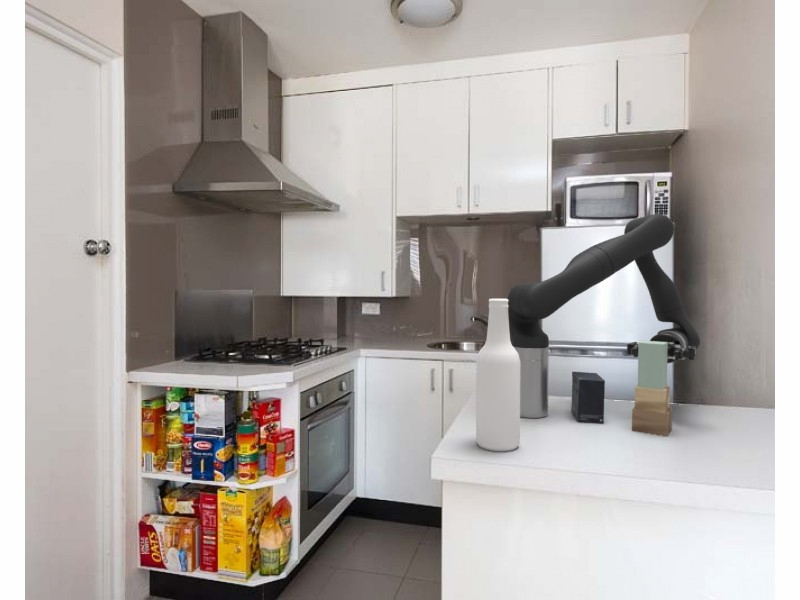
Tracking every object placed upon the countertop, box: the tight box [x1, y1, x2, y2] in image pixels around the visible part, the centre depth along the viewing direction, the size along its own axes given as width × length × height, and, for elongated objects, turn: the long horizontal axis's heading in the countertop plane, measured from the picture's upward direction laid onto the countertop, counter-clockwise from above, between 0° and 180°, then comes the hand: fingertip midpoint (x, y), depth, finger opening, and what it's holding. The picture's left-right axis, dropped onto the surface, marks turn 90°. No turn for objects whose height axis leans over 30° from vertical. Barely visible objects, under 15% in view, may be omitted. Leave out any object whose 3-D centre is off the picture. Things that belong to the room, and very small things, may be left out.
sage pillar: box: [637, 340, 668, 390], centre depth 109 cm, size 5×5×10 cm
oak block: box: [634, 384, 671, 414], centre depth 109 cm, size 6×6×5 cm
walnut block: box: [631, 406, 673, 437], centre depth 109 cm, size 7×7×5 cm
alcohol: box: [475, 298, 521, 453], centre depth 99 cm, size 9×9×30 cm
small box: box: [570, 371, 606, 424], centre depth 120 cm, size 11×6×10 cm, turn 168°
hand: (655, 354), depth 110 cm, fingers open, 8 cm apart
